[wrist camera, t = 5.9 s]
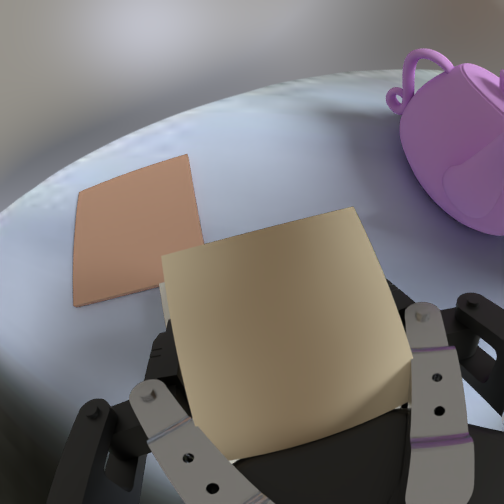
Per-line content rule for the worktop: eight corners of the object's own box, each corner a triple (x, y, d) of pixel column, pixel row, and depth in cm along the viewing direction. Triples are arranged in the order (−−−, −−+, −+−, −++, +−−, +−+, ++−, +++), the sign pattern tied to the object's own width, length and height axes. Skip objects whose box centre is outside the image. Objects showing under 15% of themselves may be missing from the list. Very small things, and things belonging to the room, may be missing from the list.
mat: (188, 157, 25) (187, 153, 25) (210, 273, 20) (208, 271, 20) (81, 194, 25) (79, 192, 24) (76, 307, 20) (73, 305, 19)
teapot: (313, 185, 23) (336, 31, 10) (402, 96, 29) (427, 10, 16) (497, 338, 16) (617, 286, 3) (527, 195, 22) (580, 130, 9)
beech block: (302, 312, 19) (353, 206, 7) (323, 381, 17) (422, 393, 5) (231, 332, 18) (161, 256, 7) (249, 402, 16) (206, 463, 5)
